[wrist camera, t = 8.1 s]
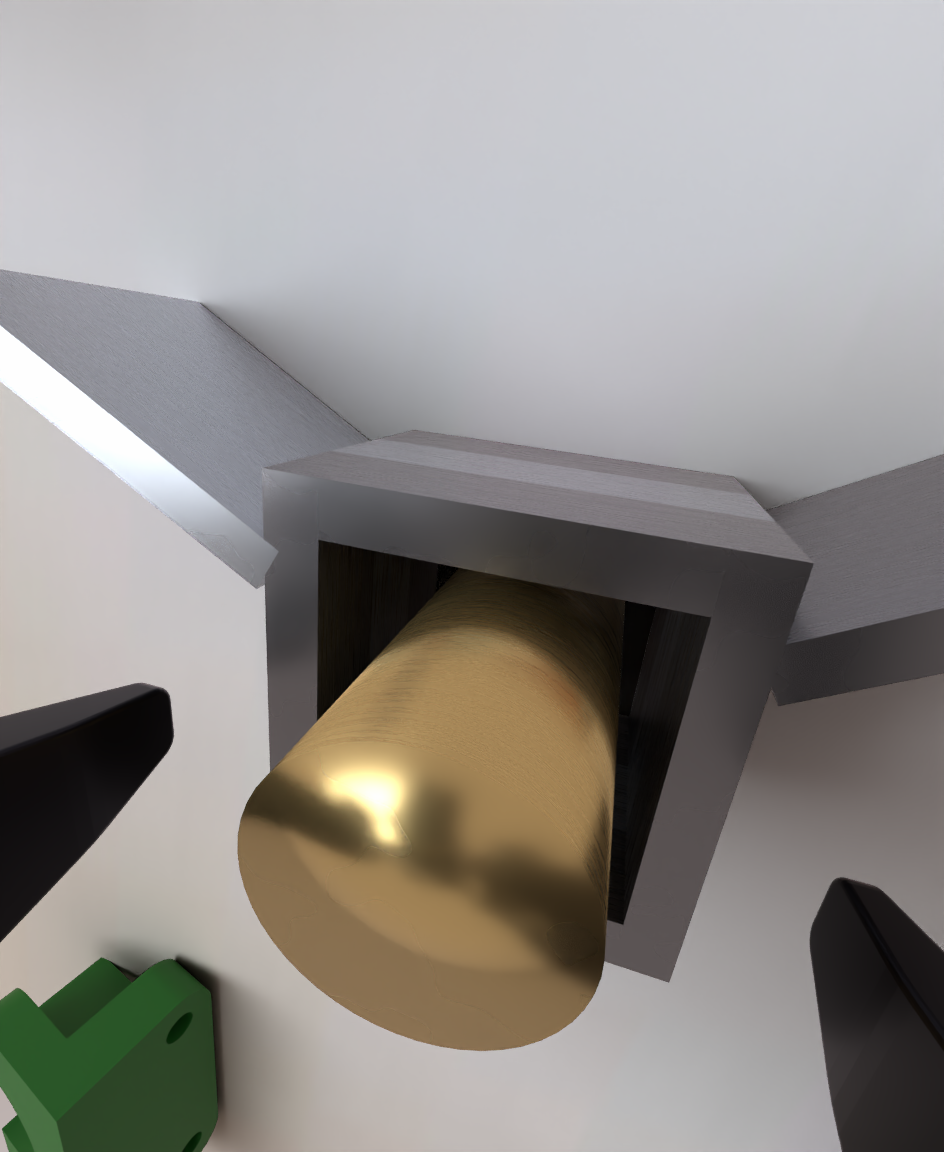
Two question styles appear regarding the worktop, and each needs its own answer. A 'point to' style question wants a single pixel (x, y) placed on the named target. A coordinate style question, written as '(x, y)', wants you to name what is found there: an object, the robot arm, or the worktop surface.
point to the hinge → (497, 558)
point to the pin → (454, 820)
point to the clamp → (111, 1064)
